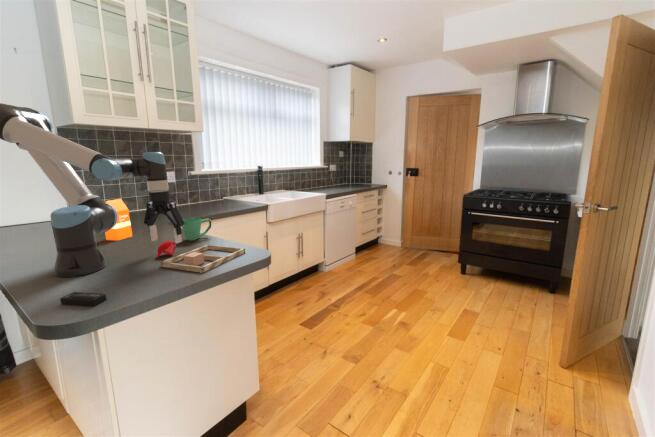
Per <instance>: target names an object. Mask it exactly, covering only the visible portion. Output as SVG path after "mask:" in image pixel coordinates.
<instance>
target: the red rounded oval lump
mask: <svg viewBox="0 0 655 437" xmlns="http://www.w3.org/2000/svg"><path fill="white" fill-rule="evenodd" d="M176 247H177V246H176V243H175V242H174V241H172V240H165V241H163V242H162V243H161V244H160V245H159V246H158V248H157V251H156V252H157V258H159V257H161V254H162V253H164V254H166V255H169V256H173V255H174V253H175V250H176Z"/></svg>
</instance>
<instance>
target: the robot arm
mask: <svg viewBox="0 0 655 437" xmlns="http://www.w3.org/2000/svg"><path fill="white" fill-rule="evenodd" d="M0 140H1V141H5V142H7V143H10V144H15V145H16V146H17V148H19V149H20V150H23V151H26V152H28V154H29V155H30V156H31V158H32V159H33V160H34V161H35V162H36V164H37V165H38V167H39V168H40V169H41V170H42V172H43V173H44V175H45V176H46V177H47V178H48V180H49V181H50V182H51V183H52V185H53V186H54V188H55V189H56V190H57V191H58V193H59V194H60V196H62V197H63V199H64V200H65V202H66V203H67V204H68V206H65V207H64V206H63V207H60V208H58V209H55V210H54V211H52V212H51V213H50V225H51V228H52V234H53V238H54V243H55V248H56V259H55V263H54V267H53V271H54V275H55V277H59V278H71V277H78V276H85V275H88V274H92V273H95V272H97V271H100V270H103V269H104V268H106V265H107V263H106V259H105V257H104V255H103V254H102V253H101V250H100V249H99V247H98V245H97V244H98V243H97V239H96V236H99V235H100V234H104V233H105V232H107V231H109V230H110V229H112V228H113V227H114V226H115V225H116V223H117V219H118V215H117V211H116V210H115V208H114V207H113V206H111V205H110V204H107V203H106V202H104V200H102V198H101V197H100V196H99V195H96V194H93V193H92V191H91V190H90V189H89V188H88V187H87V185H86V184H85V182H84V181H83V180H82V179H81V177H80V176H79V175H78V173H77V172H76V170H75V169H74V168H73V166H75V167H77V168H80V169H82V170H85V171H86V172H88V173H92V175H94V177H95V178H97V179H98V180H101V181H108V182H111V181H115V180H122V179H131V178H132V179H133V178H146V184H147V191H148V196H149V197H148V198H149V201H150V202H146V204H145V205H146V211H145V215H144V220H143V224H144V225H146V226H148V231H149V235H150V241H151V242H154V241H158V240H159V237H158V230H157V225H156V221H157V219H158V217H159V215H160V214H161V215H164V216H166V217H167V219H168V220H169V221H170V223H171V224H172V226H173V228H172V229H173V230H172V231H173V236H174V241H175V242H174V244H179V243H183V240H182V233H183V231H182V225H184V224H185V223H184V221H183V219H184V218H182V215H181V214H180V211H179V210H178V208H177V204H176V202H170V200H171V193H170V191H169V189H170V188H169V181H168V180H169V179H168V174H167V164H166V161H165V160H166V159H165V155H164V153H163V152H160V151H153V152H152V151H151V152H143V153H142V157H138V158H137V157H135V158H133V157H132V158H129V157H128V158H113V157H111V156H108V155H105V154H103V153H101V152H98V151H96V150H93V149H91V148H90V147H89V148H88V147H86V146H84V145H82V144H80V143H77V142H76V141H73V140H70V139H67V138H65V137H63V136H60V135H58V134H55V133H54V132H53V125H52V122H51V120H50V119H49V117H48V116H46V114H44V113H43V112H40V111H39V110H36V109H33V108H30V107H26V106H25V107H24V106H16V105H13V104H12V105H11V104H6V103H1V102H0ZM180 222H181V223H180Z"/></svg>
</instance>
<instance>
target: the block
mask: <svg viewBox="0 0 655 437" xmlns="http://www.w3.org/2000/svg"><path fill="white" fill-rule="evenodd" d="M203 254H204V253H203V252H200V253H197V252H192V253H189V254H187V255H184V256H183V257H184V259H183V264H185V265H192V266H201V265H202V264H204V263H205V260H204V255H203Z"/></svg>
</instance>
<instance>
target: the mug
mask: <svg viewBox="0 0 655 437" xmlns="http://www.w3.org/2000/svg"><path fill="white" fill-rule="evenodd" d="M182 219H183V221H184V223H185V224H184V225H182V226H181V229H182V233H184V236H185V238H186V239H187V241H196V239H197V240H198V239H199V238H200V237H203V236H204V235H205V234H207V233H208V232H209V231H210V229H212V220H211V219H210V218H203V219H202V218H201V217H190V218H189V217H188V218H182ZM206 222H208V223H209V224H208V226H207V228H206V229H205V231H203V232H201V230H202V228H201V227H202V226H201V225H202V224H203V223H206ZM180 223H181V222H180Z"/></svg>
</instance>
